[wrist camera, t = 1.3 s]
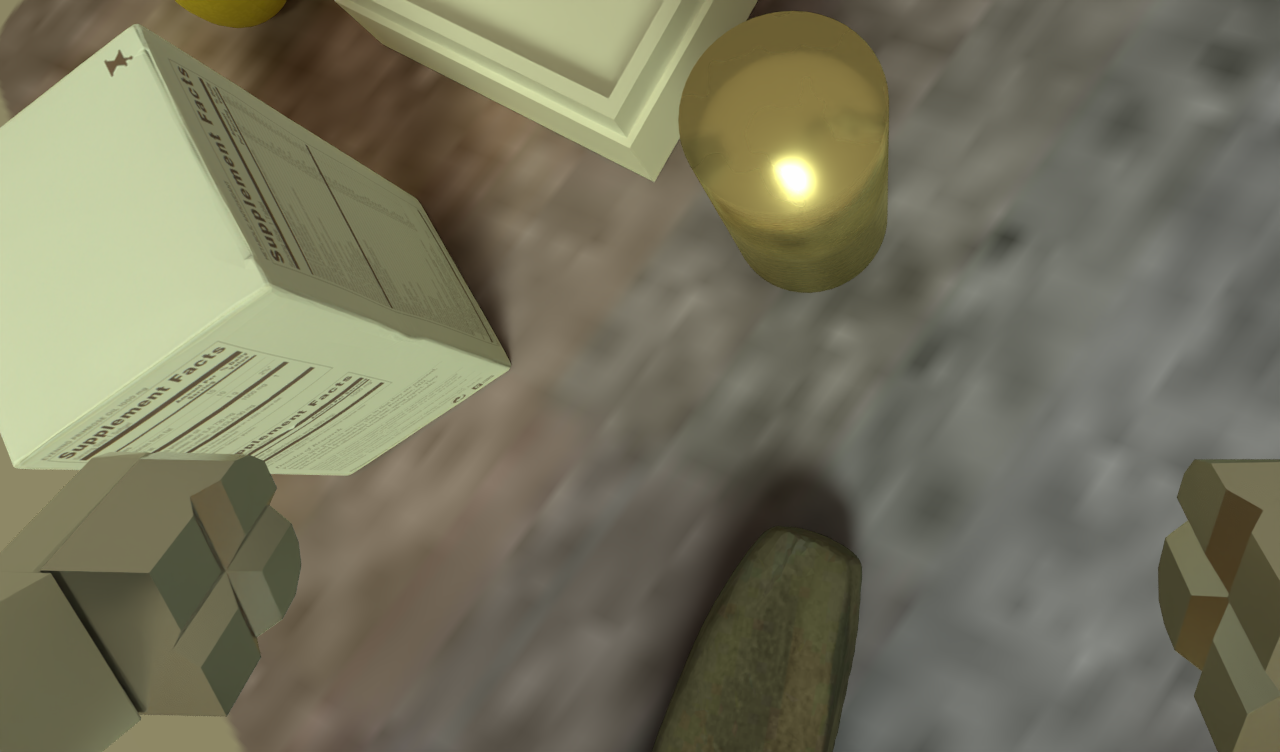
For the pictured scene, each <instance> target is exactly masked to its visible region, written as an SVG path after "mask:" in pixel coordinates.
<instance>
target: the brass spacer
mask: <svg viewBox="0 0 1280 752" xmlns="http://www.w3.org/2000/svg"><path fill="white" fill-rule="evenodd" d="M678 123H679V135H680V140H681V145H682V147H683V150H684V153H685V156H686V158H687V160H688V162H689V164H690V166H691V168H692V170H693V171H694V173H695V175H696V176H697V178H698V180H699V182H700V183H701V185H702V187H703V188H704V190H705V192H706V193H707V195H708V197H709V199H710V200H711V202H712V204H713V205H714V207H715V209H716V211H717V212H718V214H719V216H720V217H721V219H722V221H723V223H724V224H725V226H726V228H727V229H728V231H729V233H730V234H731V236H732V238H733V240H734V241H735V243H736V245H737V246H738V248H739V250H740V252H741V253H742V255H743V257H744V258H745V260H746V261H747V263H748V264H749V266H750V267H751V268H752V269H753V270H754V271H755V272H756V273H757V274H758V275H759V276H761V277H762V278H763V279H764V280H766V281H768V282H769V283H771V284H773V285H775V286H777V287H779V288H782V289H786V290H789V291H794V292H803V293H812V292H821V291H825V290H830V289H833V288H835V287H838V286H840V285H842V284H844V283H846V282H848V281H850V280H851V279H853V278H854V277H856V276H857V275H858V274H859V273H861V272H862V271H863V270H864V269H865V268H866V267H867V266H868V265H869V263H870V262H871V261H872V260H873V258H874V257H875V255H876V254H877V252H878V250H879V248H880V246H881V244H882V241H883V238H884V235H885V232H886V226H887V207H888V135H889V96H888V87H887V83H886V78H885V74H884V72H883V69H882V67H881V65H880V62H879V61H878V59H877V57H876V55H875V54H874V52H873V51H872V49H871V48H870V47H869V46H868V44H867V43H866V42H865V41H864V40H863V39H862V38H861V37H860V36H859V35H858V34H857V33H856V32H854V31H853V30H851V29H850V28H849V27H847V26H846V25H844V24H842V23H840V22H838V21H836V20H834V19H832V18H829V17H826V16H823V15H820V14H815V13H810V12H802V11H782V12H775V13H769V14H765V15H762V16H758V17H755V18H752V19H750V20H748V21H745V22H743V23H741V24H739V25H737V26H736V27H734V28H732V29H730V30H729V31H727V32H726V33H725V34H723V35H722V36H721V37H719V38H718V39H717V40H716V41H715V42H714V43H713V44H712V45H711V46H710V47H708V49H707V50H706V51H705V52H704V53H703V55H702V56H701V57H700V58H699V60H698V61H697V63H696V64H695V66H694V67H693V69H692V71H691V73H690V75H689V77H688V79H687V81H686V83H685V86H684V89H683V92H682V96H681V101H680V105H679V116H678Z"/></svg>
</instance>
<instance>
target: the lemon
mask: <svg viewBox="0 0 1280 752" xmlns="http://www.w3.org/2000/svg"><path fill="white" fill-rule="evenodd" d="M175 1H176V2H177V3H178V4H179V5H181V6H182V7H183V8H185V9H186V10H188V11H189V12H191V13H193V14H195V15H197V16H199V17H201V18H203V19H205V20H207V21H209V22H211V23H214V24H217V25H221V26H227V27H234V28H243V27H252V26H256V25H258V24H261V23H263V22H266V21H268V20H269V19H270V18H272V17H273V16H275V15H276V14H277V13H278V12H279V11H280V10H281V9H282V7H283V6H284V4H285V3H286V1H287V0H175Z"/></svg>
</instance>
